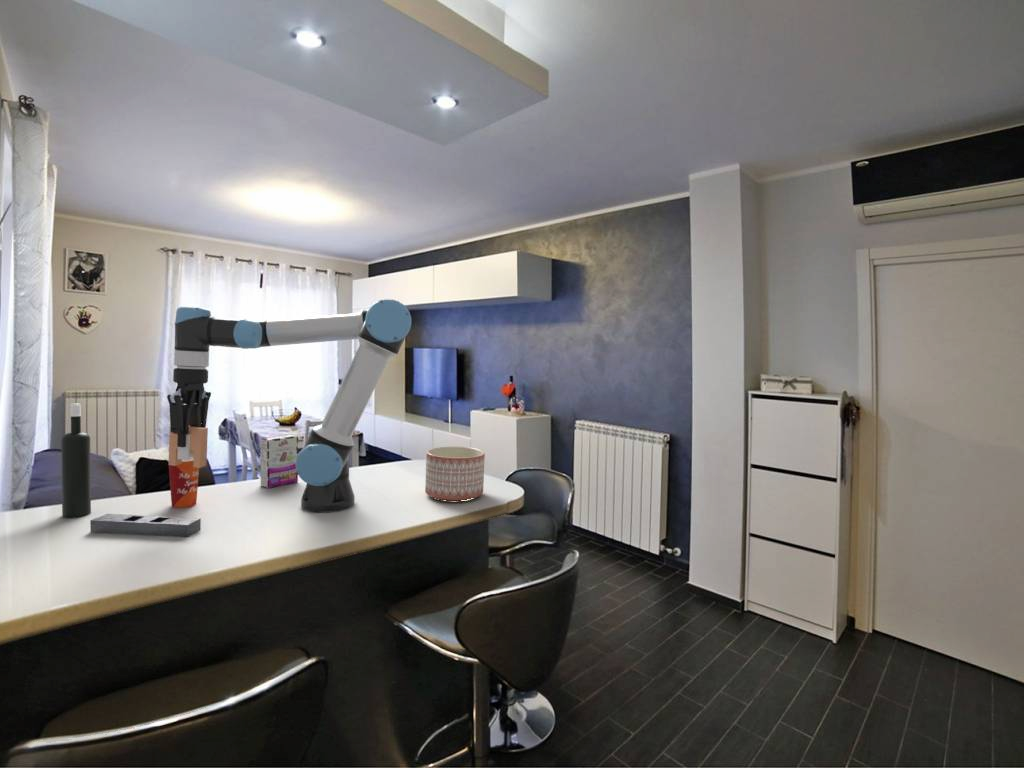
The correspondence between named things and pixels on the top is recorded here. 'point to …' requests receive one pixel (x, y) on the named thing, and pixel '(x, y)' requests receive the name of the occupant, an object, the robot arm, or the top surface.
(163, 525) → the rail
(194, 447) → the clip
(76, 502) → the wine bottle
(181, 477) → the coffee cup
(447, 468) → the planter
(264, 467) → the candy bar box
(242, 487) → the top surface
